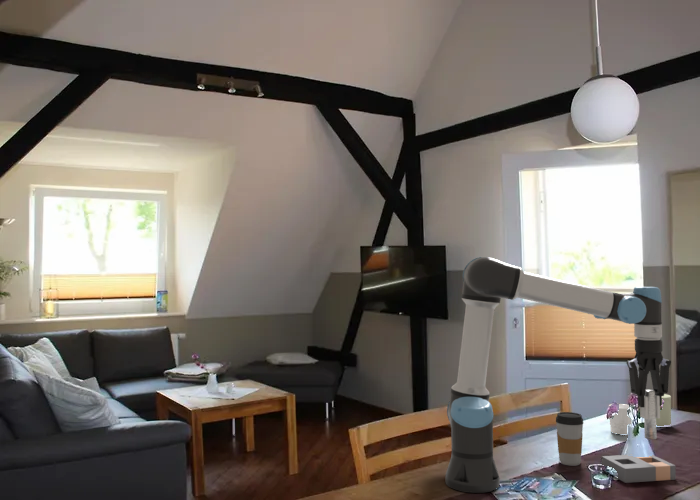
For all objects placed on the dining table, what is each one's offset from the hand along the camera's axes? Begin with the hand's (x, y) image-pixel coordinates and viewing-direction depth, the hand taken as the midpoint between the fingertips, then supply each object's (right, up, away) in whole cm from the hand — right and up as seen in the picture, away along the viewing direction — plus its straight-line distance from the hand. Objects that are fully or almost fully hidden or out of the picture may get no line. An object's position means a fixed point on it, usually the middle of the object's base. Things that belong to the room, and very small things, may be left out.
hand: (650, 417), depth 192 cm
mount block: (-4, -17, -1) cm, 17 cm away
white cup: (+10, -18, +45) cm, 50 cm away
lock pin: (0, -6, 0) cm, 6 cm away
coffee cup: (-20, -17, +10) cm, 29 cm away
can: (+30, -18, +57) cm, 66 cm away
